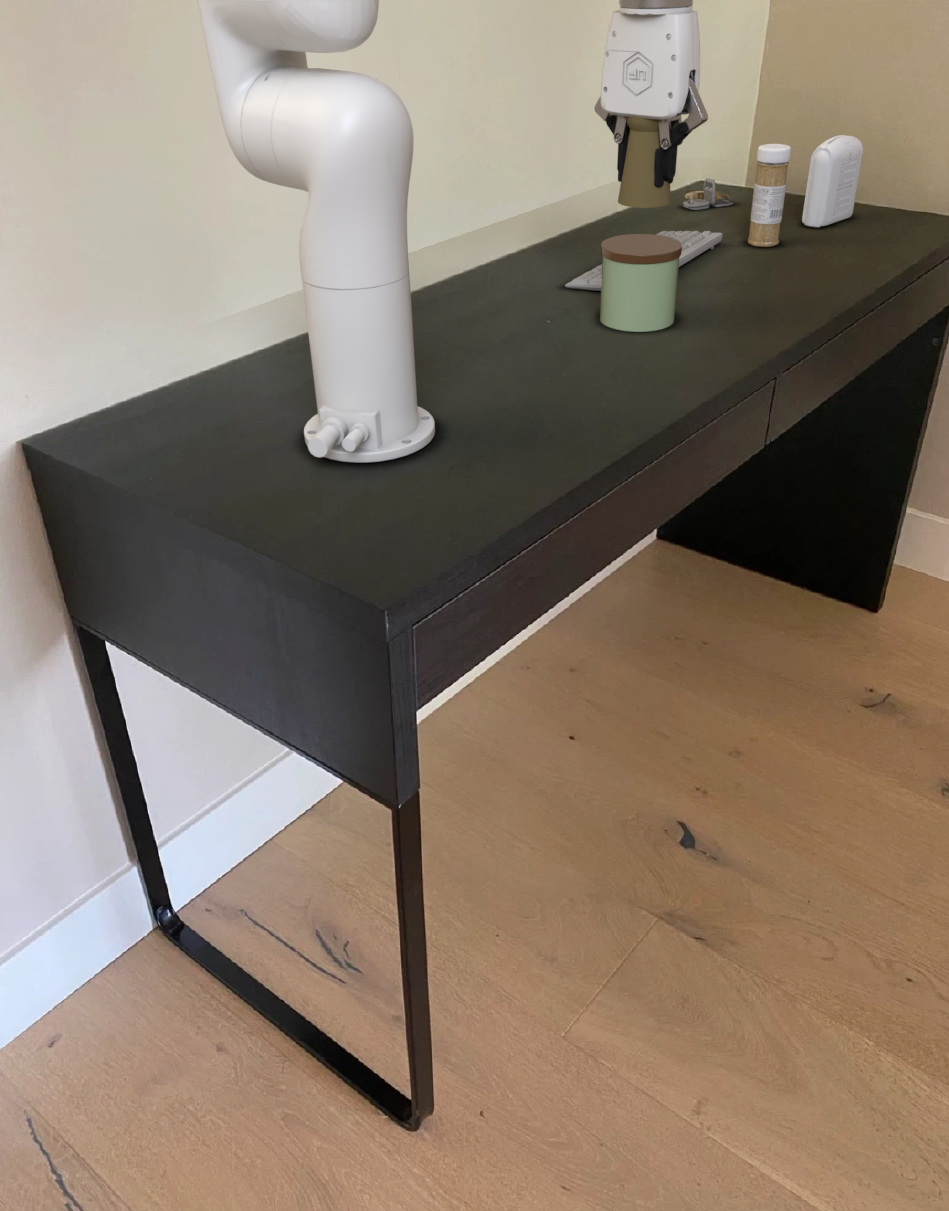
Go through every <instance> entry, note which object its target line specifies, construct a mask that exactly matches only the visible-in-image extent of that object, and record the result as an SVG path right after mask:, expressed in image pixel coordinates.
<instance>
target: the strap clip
mask: <svg viewBox="0 0 949 1211" xmlns="http://www.w3.org/2000/svg"><path fill="white" fill-rule="evenodd" d="M708 183H710V184H712V186H709V185H708ZM716 186H717V185H716V181H715V179H712V178H704V181H703V199H702V198H696V199H688V200H685V201H683V202H682V207H683V208H685V209H688V210H692V211H700V210H706V209H709V208H710V206H712V207H715V208H722V207H729V206H732V205H733V204H734V203H735V202H734V200H730V199H728V198H717V187H716Z"/></svg>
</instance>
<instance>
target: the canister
mask: <svg viewBox="0 0 949 1211" xmlns="http://www.w3.org/2000/svg"><path fill="white" fill-rule="evenodd" d="M681 253H682V243H681V242H680V241H678V240H676V239H674V238H671V237H667V236H662V235H656V234H652V233H628V234H627V233H626V234H619V235H615V236H612V237H608V238H606V239H605V240H603V241H602V242H601V243H600V254H601V257H602V258H601V264H602V279H601V291H600V307H599V309H600V310H599V321H600V323H601V324H602V325H603V326H605V327H608V328H610V329H613V330H618V331H622V332H630V333H646V332H647V333H649V332H656V331H660V330H664V329H667V328H669V327H671V326H672V325H673V324H674V322H675V316H676V305H677V304H676V303H677V291H678V280H679V269H680V267H679V257H680V255H681Z"/></svg>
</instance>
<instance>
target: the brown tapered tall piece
mask: <svg viewBox="0 0 949 1211" xmlns="http://www.w3.org/2000/svg"><path fill="white" fill-rule="evenodd" d="M626 120H627V124H628V126H629V127H630V133H629V139H628V145H627V151H626V157H625V164H624V170H623V175H622V181H621V182H620V186H619V192H618V198H617V199H618V200H617V202H618V204H619V205H621V206H624V207H629V208H635V209H636V208H637V209H652V208H660V207H665V206H668V205H670V204H671V203H672V196H671V194H672V193H671V184H668V182H666V181H664V184H663V186H662V187H655V186H654V177H655V176H654V163H655V151H656V149H658V148H660V134H659V119H648V118H642V117H636V116H633V117H628V116H626Z"/></svg>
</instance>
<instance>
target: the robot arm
mask: <svg viewBox="0 0 949 1211" xmlns="http://www.w3.org/2000/svg"><path fill="white" fill-rule="evenodd" d="M618 2H619V3H618V4H619V10H613V11H612V14H611V18H610V21H609V26H608V29H607V35H606V39H605V46H604V53H603V63H602V72H601V83H600V84H601V85H600V96H599V98H598V99H597V102H596V103H595V104H594V112H595V113H596V114H597V115H598V117H600V119H602V121H604V122H605V124H606V127H608V129H609V130H610V132H611V133H612V135H613V140H614V143H615V144H617V163H616V164H617V165H616V168H617V169H616V170H617V181H618V182H619V183H621V181H622V175H623V170H624V164H625V157H626V151H627V145H628V139H629V133H630V127H629V126H628V124H627V120H626V116H628V117H633V116H636V117H642V118H648V119H659V134H660V148H658V149H656V151H655V163H654V176H655V177H654V186H655V187H662V186H663V184H664V181H666V182H668V184H670V185H671V184H673V182H674V177H675V176H676V172H677V160H678V147H679V146H681V145H682V144H683V142H684V140H685V139H686V138H687V137H688V136H689V135H690V134H691V133H692V132H693V131H694V130H695V129H698V128H699V127H700V126H702V125H703V124H705V123H707V121H708V119H709V114H708V112H707V110H706V107H705V105H704V103H703V100H702V98H701V96H700V81H701V80H700V78H701V38H700V26H699V25H700V24H699V16H698V11H697V10H693V8H694V7H693V6H694V5H693V4H694V0H618ZM197 4H198V8H199V10H198V11H199V16H200V22H201V26H202V31H203V36H204V42H205V47H206V52H207V56H208V61H209V66H210V71H211V75H212V80H213V85H214V91H215V94H216V95H215V96H216V99H217V104H218V109H219V115H220V119H221V122H222V126H223V130H224V133H225V137H226V139H227V141H228V142H227V143H228V145H229V147H230V149H231V151H232V153H233V155H234V157H235V158H236V160H237V161H238V164H240V165H241V166H242V167H243V169H244V170H246V171H247V172H248V173H249V174H250V175H252V176H254V177H255V178H256V179H259V180H261V181H263V182H267V183H269V184H273V185H277V186H282V187H286V188H291V189H294V190H295V189H296V190H300V191H303V192H307V193H308V201H307V206H306V211H305V214H304V218H303V221H302V225H301V228H300V232H299V233H300V234H299V239H298V240H299V242H298V257H299V258H298V259H299V268H300V277H301V283H302V292H303V300H304V309H305V316H306V325H307V334H308V342H309V350H310V351H309V352H310V358H311V359H310V360H311V368H312V375H313V382H314V383H313V384H314V391H315V392H314V393H315V400H316V410H317V413H316V414H314V415H313V416H312V417H311V418H310V419H309V420H308V421H307V422H306V424H305V425H304V426H303V436H304V442H305V443H304V444H305V445H306V446H307V449H308V451H309V453H310V454H311V455H312V456H313V457H315V458H319V459H320V458H326V459H328V460H330V461H337V462H342V463H352V464H363V463H364V464H370V463H380V462H386V461H393V460H397V459H400V458H404V457H407V456H409V455H412V454H414V453H416V452H418V451H420V450H422V449H424V448H425V447H426V446H427V445H429V443H431V441H432V440H433V438H435V434H436V422H435V421H436V420H435V419H434V416H433V415H432V414H431V413H430V412H429V411H427V410H426V409H424V408H423V407H420V406H418V395H417V394H418V392H417V380H416V379H417V378H416V375H417V374H416V360H415V359H416V358H415V343H414V342H415V341H414V329H413V328H414V326H413V325H414V324H413V309H412V292H411V276H410V264H409V263H410V262H409V245H408V244H409V243H408V201H409V200H408V199H409V189H410V182H411V174H412V167H413V159H414V128H413V123H412V119H411V116H410V114H409V111H408V108H407V107H406V105H405V103H404V101H403V100H402V99H401V98H400V95H398V94H397V93H396V91H394V90H393V88H391V87H390V86H388V85H387V84H386V83H384V82H383V81H381V80H379V79H378V78H376V77H372V76H370V75H367V74H365V73H364V74H363V73H360V72H355V71H347V70H341V69H340V70H339V69H330V68H321V67H315V68H313V67H311V68H310V67H308V58H307V53H311V54H313V53H314V54H334V53H344V52H345V53H346V52H348V51H351V50H354V49H356V48H358V47H361V45H363V44H364V43H365V42H366V41H367V40H369V38H370V37H371V35H372V34H373V31H374V30H375V27H376V24H377V22H378V17H379V6H380V0H197ZM682 115H688V116H687V118H685V119H684V120H683V119H682Z"/></svg>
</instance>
